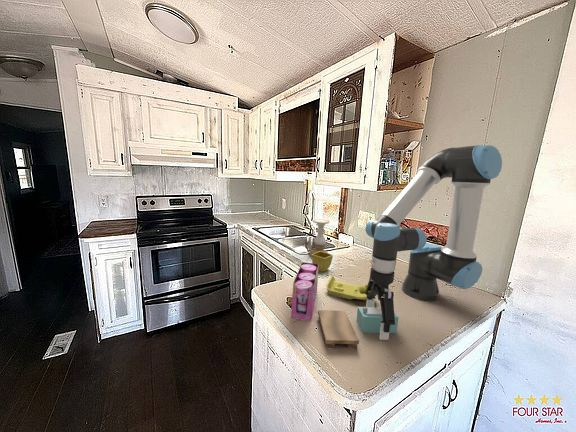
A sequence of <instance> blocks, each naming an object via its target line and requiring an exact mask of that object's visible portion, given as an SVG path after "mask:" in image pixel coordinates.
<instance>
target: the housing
mask: <svg viewBox="0 0 576 432" xmlns="http://www.w3.org/2000/svg"><path fill="white" fill-rule="evenodd" d="M394 316H395V325H390V330H389V334H397V333H398V327H399V326H398V324H399V323H398V322H399V316H398V315H397V314H396V313H395V311H394ZM381 320H383V318H382V312H381V306H380V307H378V306H377V307H376V306H374V307H366V306H358V307H357V313H356V323H357V326H358V327H359V329H360V332H361V333H368V334H369V333H372V334H373V333H376V334H377V333H378V334H380V327H381Z"/></svg>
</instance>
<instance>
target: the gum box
mask: <svg viewBox="0 0 576 432" xmlns="http://www.w3.org/2000/svg"><path fill="white" fill-rule="evenodd" d="M318 265H319V264H314V263H312V262H304V261H302V262H301V264H300V267H299V269H298V270H297V273H296V276H295V278H294V280H293V282H292V283H293V284H292V295H291V296H292V298H291V311H290V318H291V319H297V320H301V321H302V320H303V321H309V322H311V321H312V318H313V315H314V309H315V303H316V299H317V294H318V281H319V270H318Z"/></svg>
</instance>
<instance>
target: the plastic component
mask: <svg viewBox="0 0 576 432" xmlns="http://www.w3.org/2000/svg"><path fill="white" fill-rule="evenodd" d="M367 285H368V284H358V285H356V284H352V283H347V282H341V281H338V280H336V278H335V276H334V275H331V277H330V279H329V280H328V282H327V283H326V291H327V293H328V294H329V295H332V296H334V297H340V298H343V299H347V300H350V301H352V300H354V299H356V300H360V301H361V300H362V301H367V297H366V296H367V295H365V291H366V288H367Z"/></svg>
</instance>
